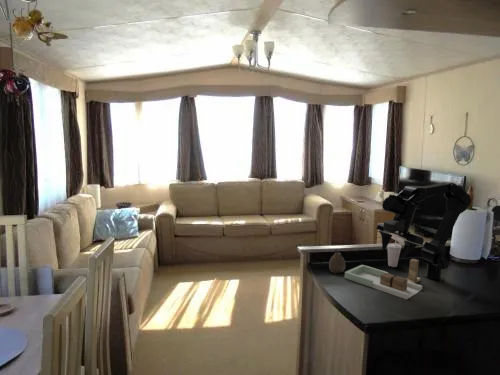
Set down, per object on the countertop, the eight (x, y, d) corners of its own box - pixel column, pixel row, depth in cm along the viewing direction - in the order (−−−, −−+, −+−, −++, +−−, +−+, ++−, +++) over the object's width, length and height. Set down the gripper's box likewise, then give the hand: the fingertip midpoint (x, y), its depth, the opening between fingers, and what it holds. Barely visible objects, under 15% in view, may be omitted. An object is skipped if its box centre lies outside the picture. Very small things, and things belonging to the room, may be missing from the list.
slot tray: (361, 272, 161) (362, 264, 161) (422, 291, 143) (423, 282, 142) (344, 280, 152) (344, 272, 151) (406, 301, 133) (407, 292, 133)
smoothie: (401, 268, 167) (403, 239, 165) (386, 267, 168) (388, 237, 166) (398, 264, 173) (401, 235, 171) (384, 262, 174) (386, 234, 172)
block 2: (396, 285, 145) (397, 276, 144) (406, 289, 142) (407, 279, 141) (391, 288, 142) (392, 278, 142) (402, 291, 139) (403, 281, 139)
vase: (346, 271, 162) (347, 252, 161) (343, 276, 156) (344, 256, 154) (330, 268, 165) (331, 249, 163) (326, 273, 159) (328, 254, 157)
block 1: (384, 282, 148) (385, 272, 148) (394, 285, 146) (395, 275, 145) (379, 284, 146) (380, 274, 145) (389, 287, 143) (390, 278, 142)
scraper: (411, 280, 154) (413, 257, 153) (419, 282, 152) (422, 259, 150) (404, 284, 149) (406, 260, 148) (412, 287, 147) (415, 263, 145)
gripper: (373, 207, 150) (361, 243, 150) (412, 219, 134) (398, 259, 134) (391, 212, 155) (379, 247, 156) (430, 224, 139) (417, 263, 140)
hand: (392, 253), depth 146 cm, fingers open, 9 cm apart
